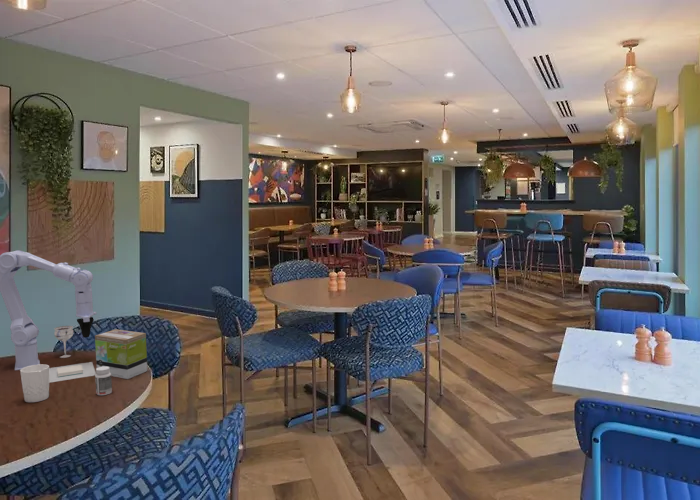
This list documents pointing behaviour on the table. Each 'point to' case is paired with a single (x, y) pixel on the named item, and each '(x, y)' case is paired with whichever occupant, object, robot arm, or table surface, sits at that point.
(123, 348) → the tea box
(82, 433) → the table surface
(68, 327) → the wineglass
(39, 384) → the white cup
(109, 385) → the pill bottle
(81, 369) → the tile
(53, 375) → the mat
